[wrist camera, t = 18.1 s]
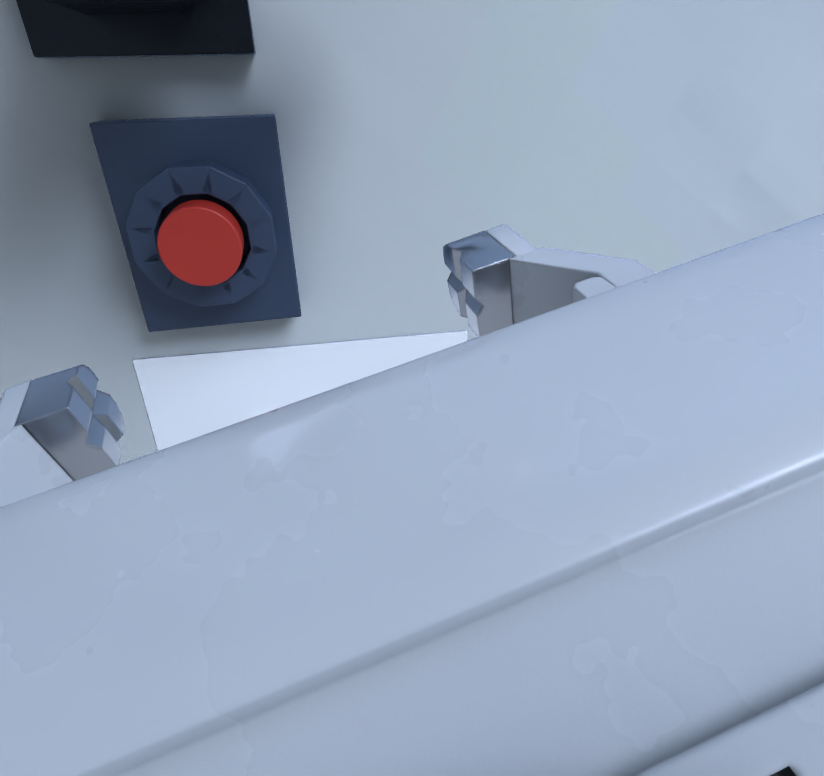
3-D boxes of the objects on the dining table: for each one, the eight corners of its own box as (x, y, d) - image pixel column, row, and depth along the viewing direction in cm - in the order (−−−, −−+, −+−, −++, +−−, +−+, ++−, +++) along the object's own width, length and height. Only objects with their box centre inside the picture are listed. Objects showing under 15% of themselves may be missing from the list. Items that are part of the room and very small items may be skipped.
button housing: (99, 120, 25) (75, 126, 22) (274, 114, 27) (274, 118, 24) (154, 320, 30) (141, 346, 27) (300, 305, 32) (302, 329, 29)
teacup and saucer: (350, 401, 35) (358, 436, 32) (356, 495, 39) (363, 536, 36) (209, 416, 34) (201, 455, 30) (230, 513, 38) (225, 557, 34)
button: (154, 201, 25) (147, 209, 23) (236, 196, 25) (234, 203, 24) (173, 278, 26) (167, 290, 25) (249, 271, 27) (248, 283, 26)
